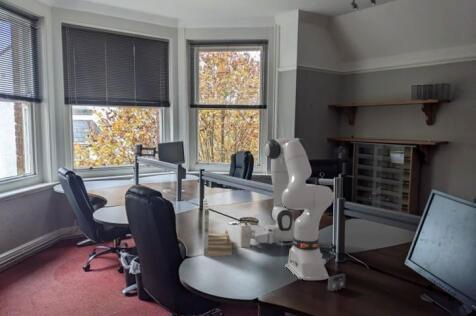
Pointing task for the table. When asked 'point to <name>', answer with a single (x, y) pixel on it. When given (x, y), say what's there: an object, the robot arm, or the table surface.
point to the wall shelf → (214, 238)
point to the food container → (249, 220)
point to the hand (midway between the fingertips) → (243, 233)
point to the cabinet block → (245, 229)
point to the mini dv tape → (336, 282)
